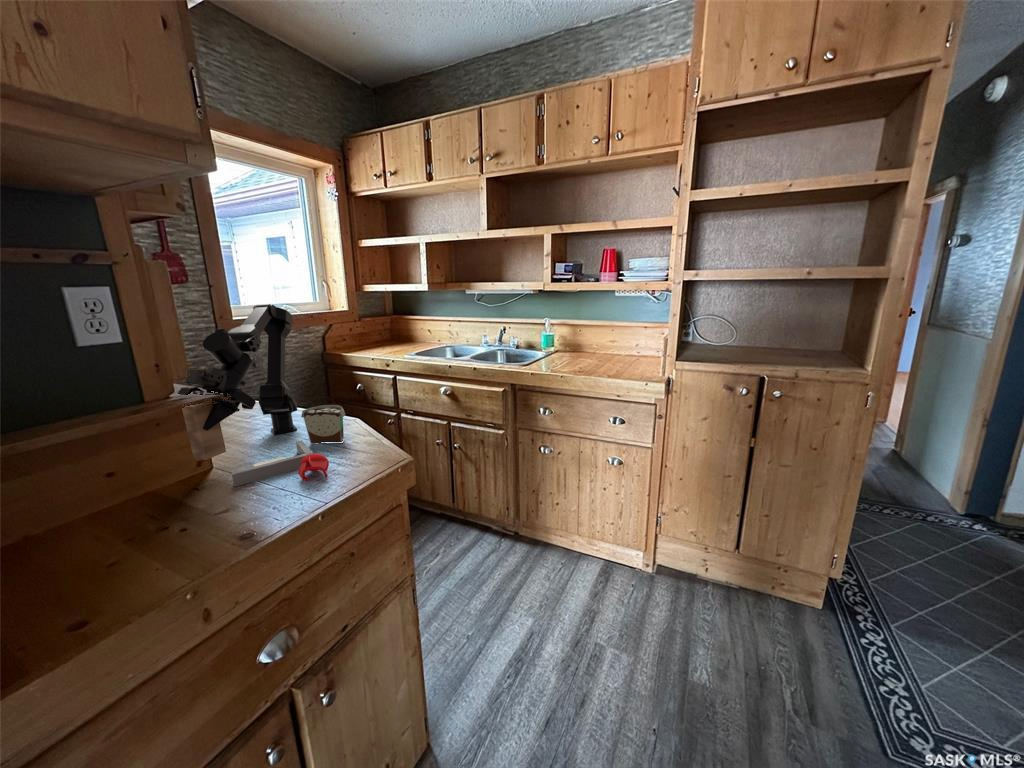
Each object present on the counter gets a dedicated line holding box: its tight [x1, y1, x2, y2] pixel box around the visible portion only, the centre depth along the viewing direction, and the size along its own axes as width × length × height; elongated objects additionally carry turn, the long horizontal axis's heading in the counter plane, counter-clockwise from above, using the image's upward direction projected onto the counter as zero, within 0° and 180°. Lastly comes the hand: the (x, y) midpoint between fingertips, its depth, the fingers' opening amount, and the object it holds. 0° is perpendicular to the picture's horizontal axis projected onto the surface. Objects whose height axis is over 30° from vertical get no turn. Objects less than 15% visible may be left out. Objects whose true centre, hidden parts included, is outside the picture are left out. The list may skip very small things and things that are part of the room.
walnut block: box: [181, 402, 227, 461], centre depth 98 cm, size 4×5×13 cm
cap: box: [297, 453, 330, 482], centre depth 96 cm, size 8×6×6 cm
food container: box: [301, 404, 346, 444], centre depth 119 cm, size 12×6×10 cm, turn 84°
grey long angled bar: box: [230, 440, 314, 488], centre depth 103 cm, size 12×17×3 cm
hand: (198, 429), depth 96 cm, fingers closed on walnut block, 4 cm apart
